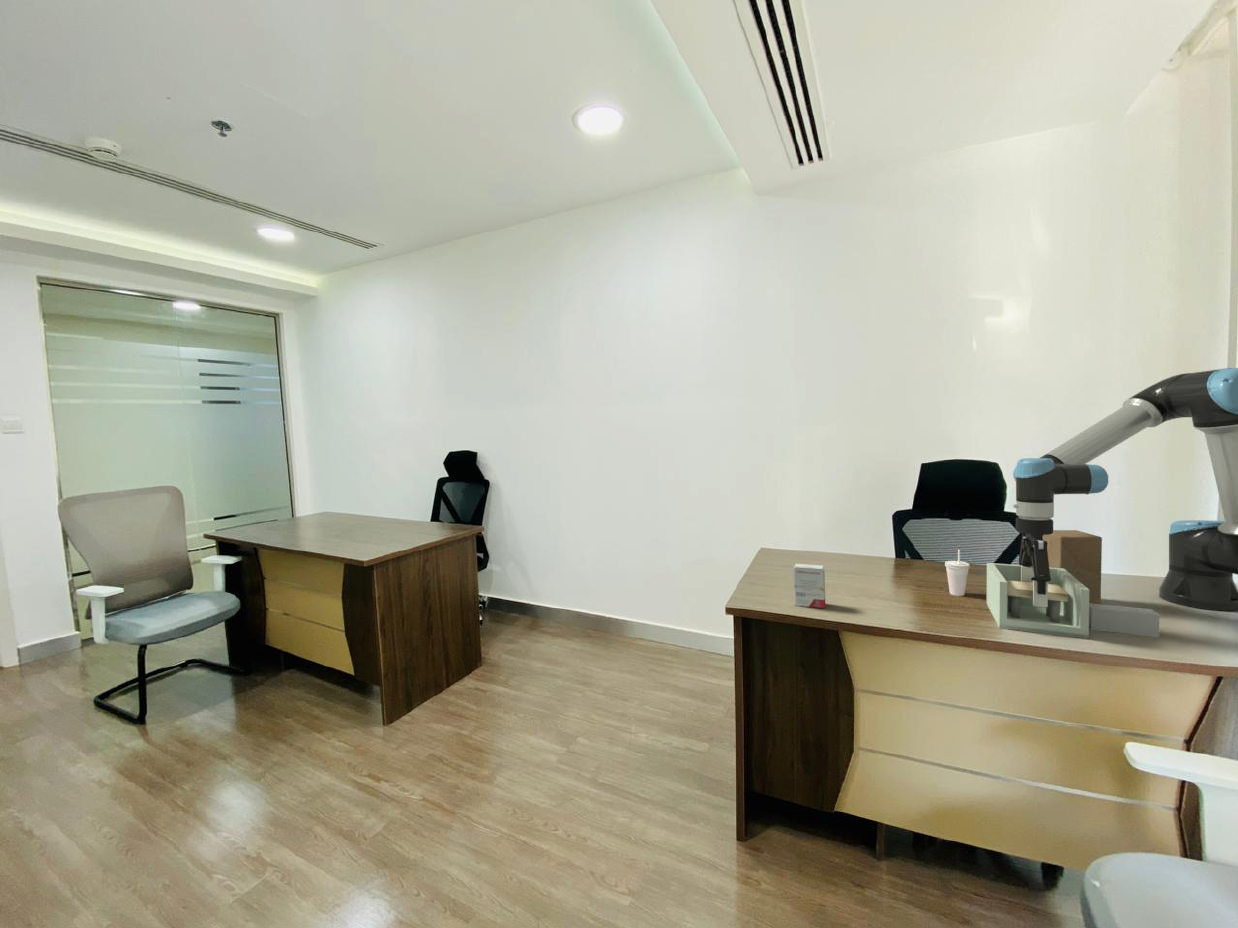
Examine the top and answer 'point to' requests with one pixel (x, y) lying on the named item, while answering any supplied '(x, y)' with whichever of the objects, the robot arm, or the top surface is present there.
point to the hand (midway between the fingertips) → (1033, 598)
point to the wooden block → (1077, 558)
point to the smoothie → (957, 576)
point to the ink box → (809, 585)
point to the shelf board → (1027, 591)
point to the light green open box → (1046, 620)
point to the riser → (1124, 620)
